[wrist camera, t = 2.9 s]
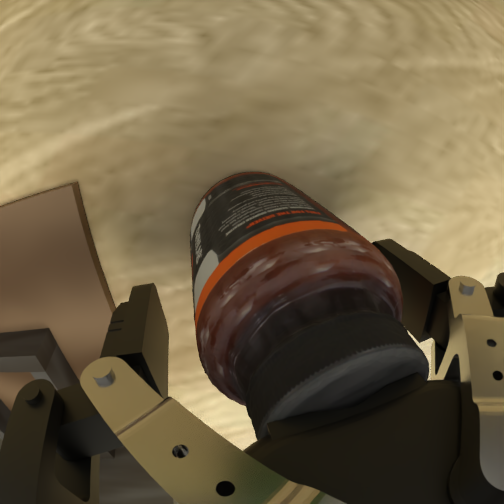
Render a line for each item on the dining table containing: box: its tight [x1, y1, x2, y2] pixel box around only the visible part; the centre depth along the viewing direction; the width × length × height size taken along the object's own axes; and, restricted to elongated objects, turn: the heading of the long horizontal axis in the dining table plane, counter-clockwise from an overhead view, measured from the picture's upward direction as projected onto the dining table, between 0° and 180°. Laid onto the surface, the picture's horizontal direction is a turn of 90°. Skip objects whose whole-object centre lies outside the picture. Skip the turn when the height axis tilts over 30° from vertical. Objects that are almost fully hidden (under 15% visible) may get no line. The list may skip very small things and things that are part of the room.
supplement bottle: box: [190, 172, 429, 440], centre depth 10 cm, size 6×6×11 cm
